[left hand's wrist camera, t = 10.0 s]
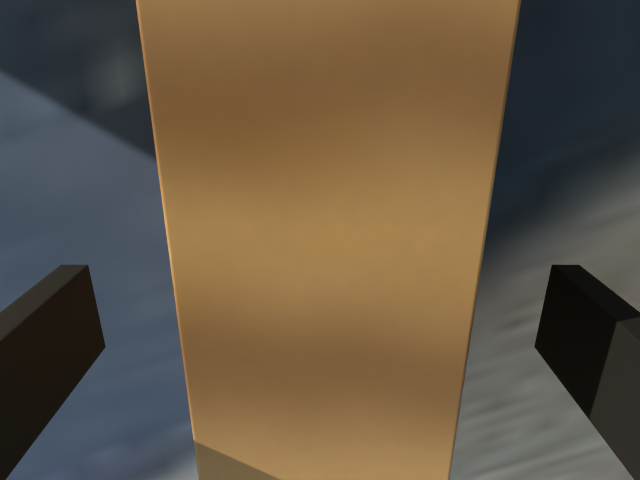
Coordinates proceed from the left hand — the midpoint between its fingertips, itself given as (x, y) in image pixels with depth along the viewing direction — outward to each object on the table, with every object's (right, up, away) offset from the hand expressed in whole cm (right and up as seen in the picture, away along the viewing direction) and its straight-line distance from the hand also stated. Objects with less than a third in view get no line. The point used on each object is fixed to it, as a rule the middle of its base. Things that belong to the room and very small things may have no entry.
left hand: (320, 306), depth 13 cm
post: (0, +27, -6) cm, 28 cm away
